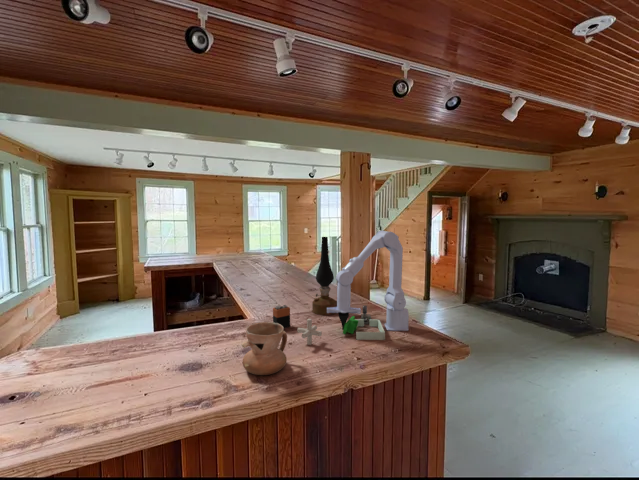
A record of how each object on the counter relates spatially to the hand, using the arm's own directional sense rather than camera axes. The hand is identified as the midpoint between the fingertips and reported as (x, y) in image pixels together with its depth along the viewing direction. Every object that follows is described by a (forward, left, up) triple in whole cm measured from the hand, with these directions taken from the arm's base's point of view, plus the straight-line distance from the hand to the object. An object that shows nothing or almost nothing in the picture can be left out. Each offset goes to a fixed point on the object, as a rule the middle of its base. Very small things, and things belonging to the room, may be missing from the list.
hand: (343, 329), depth 139 cm
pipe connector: (+14, +13, -2) cm, 19 cm away
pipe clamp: (-3, -1, -1) cm, 3 cm away
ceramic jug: (+27, +33, -2) cm, 42 cm away
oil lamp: (+9, -29, -2) cm, 30 cm away
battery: (+28, -5, -2) cm, 28 cm away
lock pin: (-11, -14, 0) cm, 18 cm away
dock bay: (-11, 0, -1) cm, 11 cm away
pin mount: (-11, -11, -1) cm, 16 cm away
